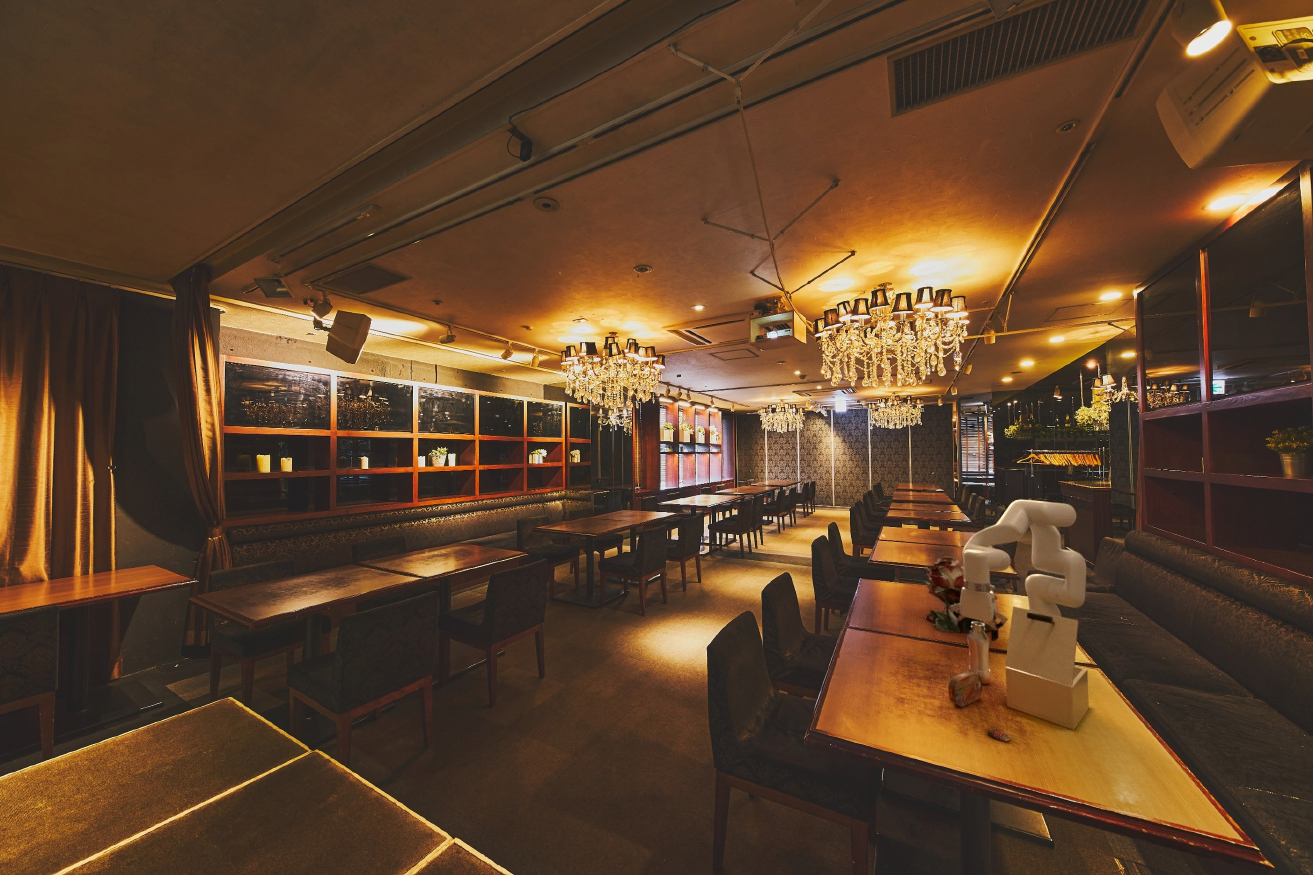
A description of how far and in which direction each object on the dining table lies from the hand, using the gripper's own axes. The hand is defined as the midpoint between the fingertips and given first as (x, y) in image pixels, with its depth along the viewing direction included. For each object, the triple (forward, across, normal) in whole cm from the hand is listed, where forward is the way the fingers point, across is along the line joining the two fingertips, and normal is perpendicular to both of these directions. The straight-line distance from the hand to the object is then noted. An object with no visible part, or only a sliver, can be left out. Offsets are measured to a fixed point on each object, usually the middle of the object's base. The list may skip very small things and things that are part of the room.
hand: (978, 635), depth 162 cm
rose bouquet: (+16, +28, -55) cm, 64 cm away
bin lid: (-5, -19, +6) cm, 21 cm away
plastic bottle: (+16, 0, 0) cm, 16 cm away
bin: (+16, -19, +2) cm, 25 cm away
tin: (+16, -2, +18) cm, 24 cm away
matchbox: (+16, -15, +31) cm, 38 cm away
